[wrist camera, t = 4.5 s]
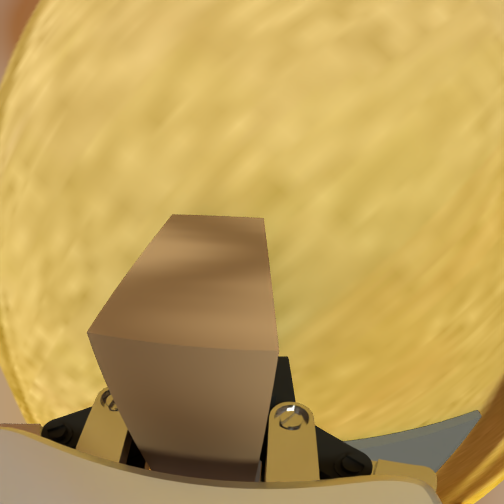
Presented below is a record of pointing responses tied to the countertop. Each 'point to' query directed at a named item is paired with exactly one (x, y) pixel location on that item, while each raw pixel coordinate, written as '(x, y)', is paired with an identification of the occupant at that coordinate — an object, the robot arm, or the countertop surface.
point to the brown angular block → (194, 347)
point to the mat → (417, 443)
